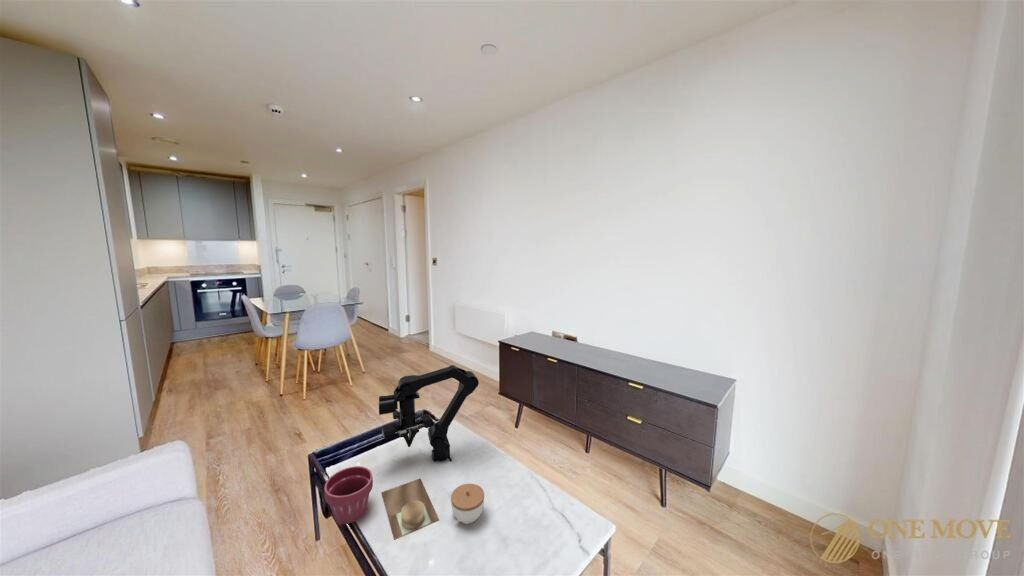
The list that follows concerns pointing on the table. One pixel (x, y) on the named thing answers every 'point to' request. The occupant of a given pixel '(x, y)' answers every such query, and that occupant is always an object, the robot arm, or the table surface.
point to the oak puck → (412, 514)
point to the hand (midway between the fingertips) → (409, 446)
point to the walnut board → (402, 496)
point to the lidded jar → (467, 502)
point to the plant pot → (349, 493)
